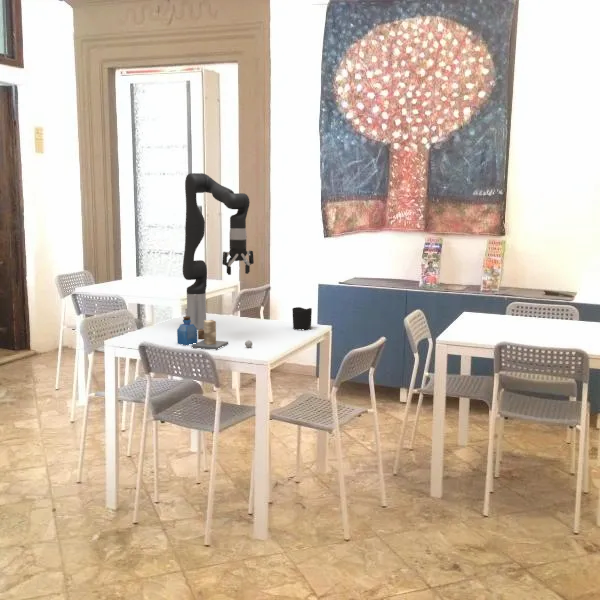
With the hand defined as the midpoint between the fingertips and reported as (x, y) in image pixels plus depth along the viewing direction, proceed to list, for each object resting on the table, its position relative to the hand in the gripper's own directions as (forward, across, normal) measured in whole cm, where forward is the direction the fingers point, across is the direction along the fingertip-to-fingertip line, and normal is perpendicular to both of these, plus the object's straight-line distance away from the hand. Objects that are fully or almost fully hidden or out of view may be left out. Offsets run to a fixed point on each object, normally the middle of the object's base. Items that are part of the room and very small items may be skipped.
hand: (238, 274), depth 332 cm
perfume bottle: (+30, +24, -1) cm, 39 cm away
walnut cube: (+30, +14, -8) cm, 34 cm away
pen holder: (+30, -37, -8) cm, 48 cm away
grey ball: (+28, +3, +19) cm, 34 cm away
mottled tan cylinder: (+28, +17, +9) cm, 34 cm away
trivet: (+30, +17, +9) cm, 35 cm away
